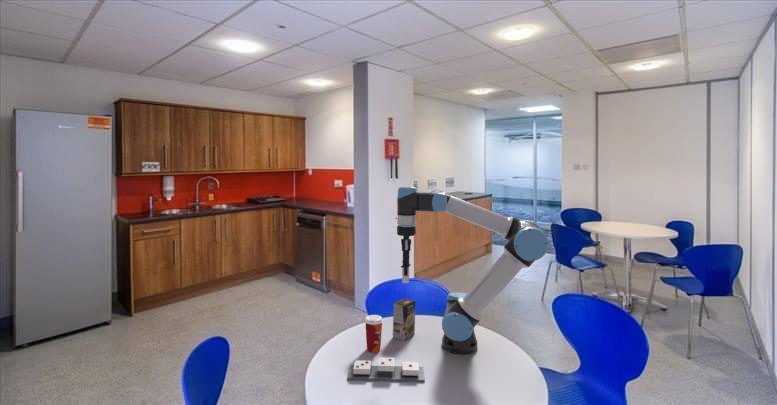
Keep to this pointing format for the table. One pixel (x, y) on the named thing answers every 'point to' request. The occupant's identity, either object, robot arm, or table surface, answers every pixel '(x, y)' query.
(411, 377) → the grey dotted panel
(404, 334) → the coffee box
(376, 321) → the paper cup
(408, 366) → the tile
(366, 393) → the table surface
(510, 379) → the table surface
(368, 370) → the tile
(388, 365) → the tile
